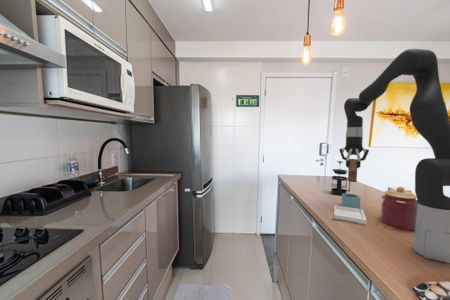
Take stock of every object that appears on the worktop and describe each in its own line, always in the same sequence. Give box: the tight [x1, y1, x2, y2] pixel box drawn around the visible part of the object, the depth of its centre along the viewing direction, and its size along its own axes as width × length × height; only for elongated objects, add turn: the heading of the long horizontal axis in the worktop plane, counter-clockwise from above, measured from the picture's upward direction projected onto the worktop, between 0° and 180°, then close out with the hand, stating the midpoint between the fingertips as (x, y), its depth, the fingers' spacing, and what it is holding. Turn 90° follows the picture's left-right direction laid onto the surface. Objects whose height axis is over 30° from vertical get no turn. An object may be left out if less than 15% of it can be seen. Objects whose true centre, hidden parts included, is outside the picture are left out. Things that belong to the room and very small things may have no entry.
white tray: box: [333, 205, 368, 226], centre depth 102 cm, size 15×13×2 cm
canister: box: [380, 186, 417, 231], centre depth 92 cm, size 13×13×18 cm
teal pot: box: [341, 192, 361, 209], centre depth 114 cm, size 9×9×7 cm
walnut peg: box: [347, 158, 358, 183], centre depth 110 cm, size 4×4×12 cm
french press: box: [330, 160, 351, 197], centre depth 138 cm, size 12×9×23 cm
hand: (352, 167), depth 110 cm, fingers closed on walnut peg, 4 cm apart
